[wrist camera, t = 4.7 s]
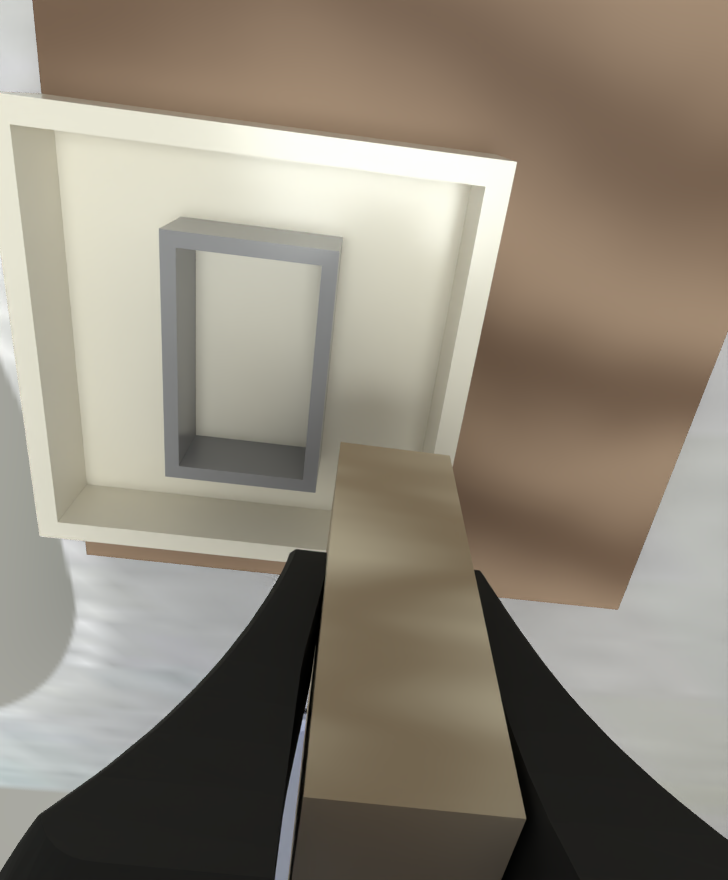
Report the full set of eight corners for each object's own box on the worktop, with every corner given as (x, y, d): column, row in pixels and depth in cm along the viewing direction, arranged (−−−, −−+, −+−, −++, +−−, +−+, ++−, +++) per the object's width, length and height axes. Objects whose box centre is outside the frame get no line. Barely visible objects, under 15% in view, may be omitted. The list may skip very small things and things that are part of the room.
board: (611, 595, 25) (617, 609, 24) (95, 541, 24) (86, 554, 23) (848, -24, 16) (870, -30, 15) (34, -145, 15) (17, -158, 14)
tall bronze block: (449, 455, 14) (526, 819, 7) (411, 625, 16) (439, 1027, 9) (340, 441, 14) (304, 797, 7) (318, 615, 16) (272, 1015, 9)
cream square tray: (494, 154, 17) (517, 162, 14) (422, 522, 23) (429, 577, 20) (41, 93, 17) (-22, 89, 14) (80, 485, 22) (39, 536, 19)
